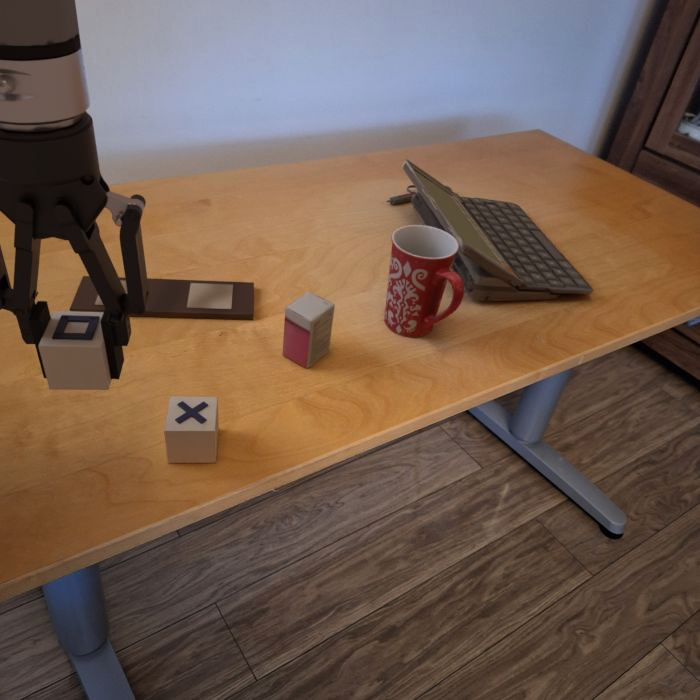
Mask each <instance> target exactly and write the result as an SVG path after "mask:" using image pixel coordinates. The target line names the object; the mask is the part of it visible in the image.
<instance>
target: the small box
mask: <svg viewBox="0 0 700 700" xmlns="http://www.w3.org/2000/svg"><path fill="white" fill-rule="evenodd" d="M335 306H336V305H335V303H334V302H331V301H329V300H327V299H325V298H323V297H321V296H319V295H317V294H315V293H313V292H311V291H306V292H305V293H304V294H302V295H301V296H299V297H297V298H296V299H295V300H293V301H292V302H290V303H289V304H288V305H286V306H285V307H284V324H283V339H282V356H283V357H286V358H287V359H288V360H290V361H292V362H294V363H295V364H298V365H300V366H301V367H303V368H305V369H309V368H310V367H312V365H314V364H315V363H317V362H318V361H319V360H320V359H321V358H322V357H323V356H325V355H326V354H327V353H328V352H329V351H330V345H331V339H332V338H331V337H332V331H333V330H332V329H333V323H334V322H333V321H334V313H335Z"/></svg>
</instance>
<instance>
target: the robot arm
mask: <svg viewBox="0 0 700 700" xmlns="http://www.w3.org/2000/svg"><path fill="white" fill-rule="evenodd" d="M80 36H81V35H80V27H79V21H78V13H77V6H76V0H0V212H1V214H2V215H4V216H5V217H6V218H7V219H8V220H9V221H10V222H11V223H12V224H14V233H13V234H14V237H13V247H14V249H15V252H14V269H13V285H12V284H11V281H10V277H9V273H8V269H7V265H6V261H5V257H4V254H3V250H2V246H1V244H0V311H1V310H6V311H8V312H11V313H12V314H13V316H15V317H16V321H17V324H18V328H19V330H20V335H21V339H22V341H23V342H24V343H25V344H26V345H34V346H35V349H36V353H37V357H38V362H39V365H40V369H41V372H42V377H43V379H47V377H46V374H45V370H44V366H43V362H42V358H41V354H40V351H39V347H38V345H39V343H40V341H41V339H42V337H43V335H44V332H45V330H46V328H47V326H48V323H49V321H50V319H51V316H52V315H51V313H50V308H49V305H48V301H47V300H37V301H36V299H37V297H38V295H39V291H38V281H39V279H38V278H39V268H40V258H41V257H40V256H41V245H42V240H46V239H51V238H54V239H58V240H62V241H68V243H69V244H70V246H71V249H72V250H73V252H74V253H75V254H77V255H78V257H79V259H80V260H81V262H82V264H83V267H84V269H85V270H86V273H87V276H89V277H90V279H91V281H92V283H93V285H94V287H95V289H96V291H97V293H98V295H99V297H100V299H101V301H102V303H103V305H104V307H105V310H104V313H103V316H102V319H101V328H102V334H103V339H104V342H105V348H106V354H107V359H108V365H109V371H110V377H111V379H112V380H120V377H121V373H122V370H123V366H124V362H125V355H124V348H123V347H128V345H129V343H130V340H131V336H132V326H131V325H132V324H131V318H130V317H131V316H129V315H130V314H132V313H134V314H136V315H141V314H143V313H144V312H145V308H146V304H147V300H148V296H149V288H148V280H147V278H148V272H147V266H146V257H145V249H144V240H143V234H142V225H141V221H142V218H143V214H144V212H145V208H146V203H147V201H146V198H145V197H144V196H142V195H141V194H137V193H136V194H133V195H131V196H130V197H128V196H125V195H122V194H120V193H116V192H114V191H111V190H110V189H111V188H110V186H109V184H108V183H107V181H106V180H105V179H104V177H103V175H102V173H101V169H100V162H99V161H100V160H99V154H98V148H97V142H96V140H97V139H96V133H95V128H94V127H95V126H94V121H93V117H92V116H91V115H90V114H89V113H88V109H89V108H90V105H91V99H90V93H89V86H88V81H87V80H88V79H87V74H86V67H85V61H84V55H83V49H82V48H83V47H82V44H81V42H82V41H81V37H80ZM104 209H107V210H108V211H109V212H110V213H111V218H112V221H113V222H114V225H115V226H116V227H120V228H119V244H120V251H121V258H122V264H123V265H122V266H123V272H124V277H125V279H126V285H127V292H128V293H127V294H126V292H125V290H124V288H123V285H122V283H121V281H120V279H119V277H120V276H119V274H118V272H117V270H116V267H115V265H114V263H113V261H112V259H111V257H110V255H109V252H108V250H107V248H106V246H105V244H104V241H103V239H102V237H101V232H100V227H99V225H98V223H97V221H96V220H97V219H98V217H99V216H100V215H101V213H102V212H103V210H104Z"/></svg>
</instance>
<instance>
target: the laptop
mask: <svg viewBox="0 0 700 700" xmlns="http://www.w3.org/2000/svg"><path fill="white" fill-rule="evenodd" d="M401 167H402V169H403V171H404V173H405V174H406V176H407V178H408V179H409V180H410V182H411V183H412V185H414V186H415V187H416V188H415V190H416V191H415V192H416V193H415V194H414V195H413V197H412V200H411V204H412V209H413V210H414V212H415V214H416V215H417V217H418V218H419V220H420V222H421V223H422V225H425V226H431V227H435V228H438V229H441V230H443V231H445V232H447V233H449V234H450V235H452V236H453V237H454V238H455V239H456V240H457V242H458V244H459V249H458V251H457V253H456V254H455V257H454V261H453V264H452V267H451V271H454V272H456V273H457V274H458V275H459V276H460V277H461V279H462V281H463V284H464V293H465V294H466V295H467V296H468V298H470V299H472V300H474V301H489V302H494V301H495V302H496V301H497V302H502V301H503V302H504V301H505V302H506V301H532V300H534V301H536V300H553V299H557V298H559V297H560V296H561V294H578V295H579V294H582V295H583V294H584V295H592V294H593V292H594V289H593V287H592V286H591V285H590V284H589V282H588V281H587V280H586V278H584V276H583V275H582V274H581V273H580V271H578V270H577V268H575V266H574V265H573V264H572V263H571V262H570V261H569V260H568V259H567V258H566V256H565V255H563V253H562V252H561V251H560V250H559V249H558V248H557V247H556V246H555V244H554V243H553V242H552V241H551V240H550V239H549V238H548V237H547V236H546V234H545V233H544V232H543V231H542V230H541V228H540V227H539V226H538V225H537V224H536V223H535V222H534V221H533V219H531V217H530V216H529V215H528V214H527V213H526V212H525V210H524V209H523V208H522V207H521V206H520V205H519V204H517V203H515V202H510V201H503V200H497V199H490V198H481V197H468V196H460V195H459V194H458V193H456V192H454V191H453V190H452V191H451V190H450V189H448V188H447V187H446V186H447V185H445V184H444V183H442V182H441V181H439V180H438V179H436V178H435V177H433V176H432V175H430V174H429V173H427V172H426V171H425V170H424V169H422V168H421V167H419V166H418V165H416V164H415V163H413V162H412V161H410V160H409V159H405V160H404V162H403V164H402V165H401Z"/></svg>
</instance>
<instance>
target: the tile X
mask: <svg viewBox="0 0 700 700" xmlns="http://www.w3.org/2000/svg"><path fill="white" fill-rule="evenodd" d="M164 424H165V425H164V429H163V432H164V440H165V441H164V442H165V451H166V461H167V463H168V464H216V463H217V456H218V455H217V454H218V444H219V443H218V441H219V430H220V427H219V426H220V425H219V424H220V423H219V397H218V396H174V395H173V396H172V395H171V396H169V400H168V406H167V412H166V419H165V423H164Z"/></svg>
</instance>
